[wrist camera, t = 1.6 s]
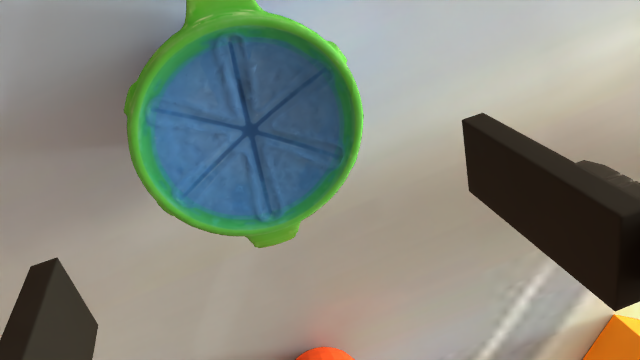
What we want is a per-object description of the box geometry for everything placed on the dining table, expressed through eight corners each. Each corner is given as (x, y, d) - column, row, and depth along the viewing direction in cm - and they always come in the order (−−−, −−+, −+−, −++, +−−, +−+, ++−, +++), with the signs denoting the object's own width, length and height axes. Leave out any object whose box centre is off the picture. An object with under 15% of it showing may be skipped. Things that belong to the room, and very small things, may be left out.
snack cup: (317, 179, 36) (366, 259, 27) (164, 204, 34) (163, 301, 25) (303, -65, 29) (363, -66, 20) (109, -55, 27) (79, -50, 18)
